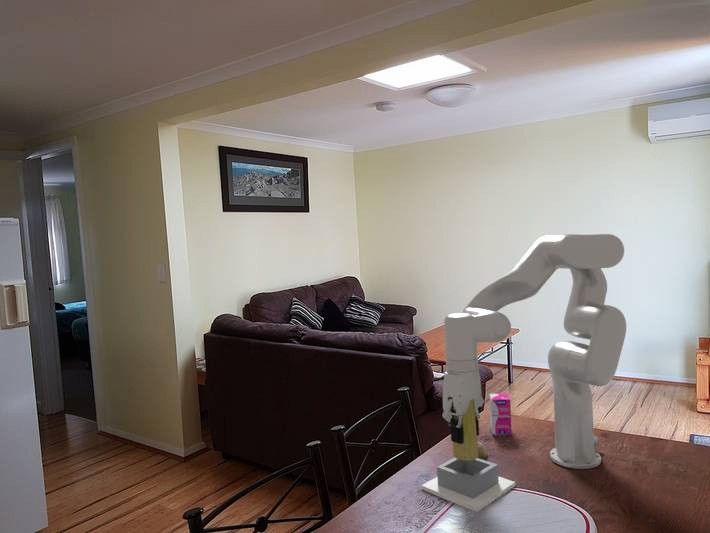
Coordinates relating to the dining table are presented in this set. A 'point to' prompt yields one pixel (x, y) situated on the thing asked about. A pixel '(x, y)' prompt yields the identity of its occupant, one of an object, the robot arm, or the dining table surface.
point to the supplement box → (500, 414)
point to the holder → (468, 483)
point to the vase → (467, 436)
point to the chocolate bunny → (481, 451)
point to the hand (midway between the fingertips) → (465, 437)
